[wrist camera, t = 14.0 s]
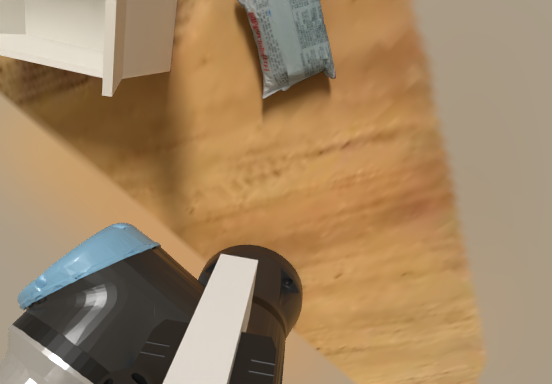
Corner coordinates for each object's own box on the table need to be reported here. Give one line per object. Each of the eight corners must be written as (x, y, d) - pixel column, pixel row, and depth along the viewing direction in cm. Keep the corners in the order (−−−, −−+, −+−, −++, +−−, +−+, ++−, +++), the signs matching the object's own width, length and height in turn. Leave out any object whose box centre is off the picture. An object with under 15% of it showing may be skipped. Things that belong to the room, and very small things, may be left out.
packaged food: (265, 95, 46) (260, 100, 42) (236, -11, 43) (227, -19, 38) (336, 76, 45) (339, 79, 40) (313, -36, 41) (314, -46, 37)
